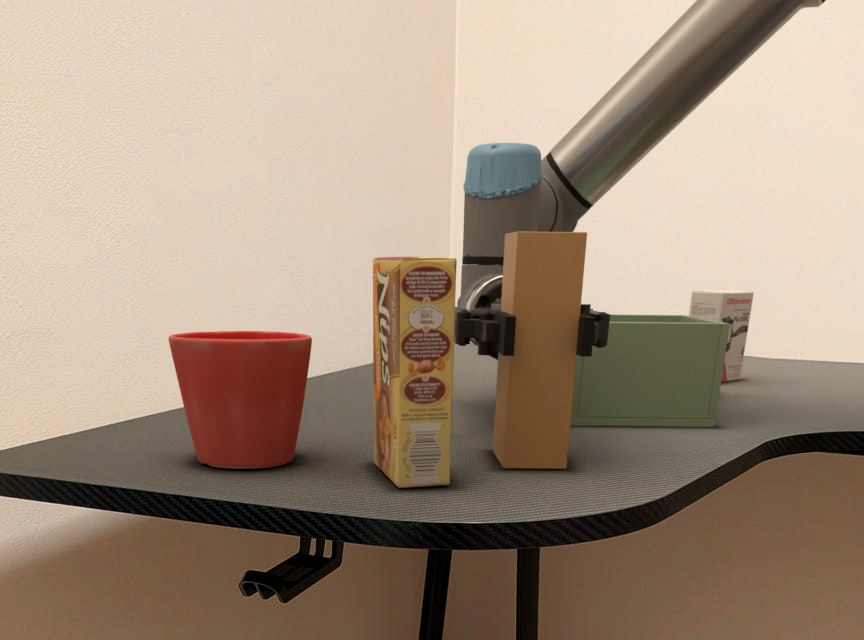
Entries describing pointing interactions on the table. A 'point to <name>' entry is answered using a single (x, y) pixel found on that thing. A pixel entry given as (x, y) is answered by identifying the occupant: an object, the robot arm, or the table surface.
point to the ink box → (728, 310)
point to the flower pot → (242, 394)
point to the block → (539, 348)
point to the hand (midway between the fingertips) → (548, 336)
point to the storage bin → (652, 373)
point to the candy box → (413, 368)
